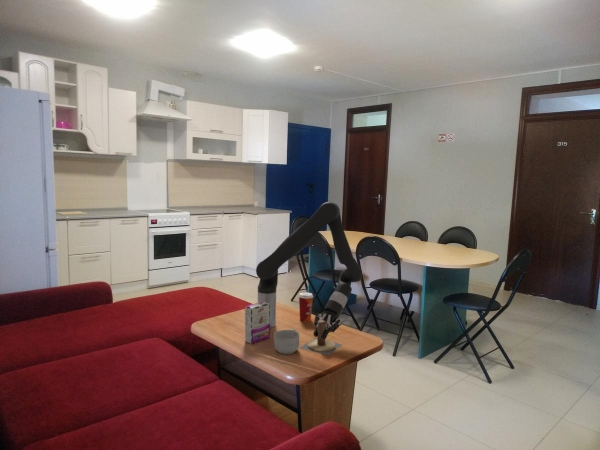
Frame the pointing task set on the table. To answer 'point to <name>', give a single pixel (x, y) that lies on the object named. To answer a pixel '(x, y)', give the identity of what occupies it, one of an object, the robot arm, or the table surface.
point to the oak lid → (321, 340)
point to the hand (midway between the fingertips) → (318, 337)
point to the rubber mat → (321, 352)
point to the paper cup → (305, 306)
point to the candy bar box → (257, 322)
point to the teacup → (286, 341)
